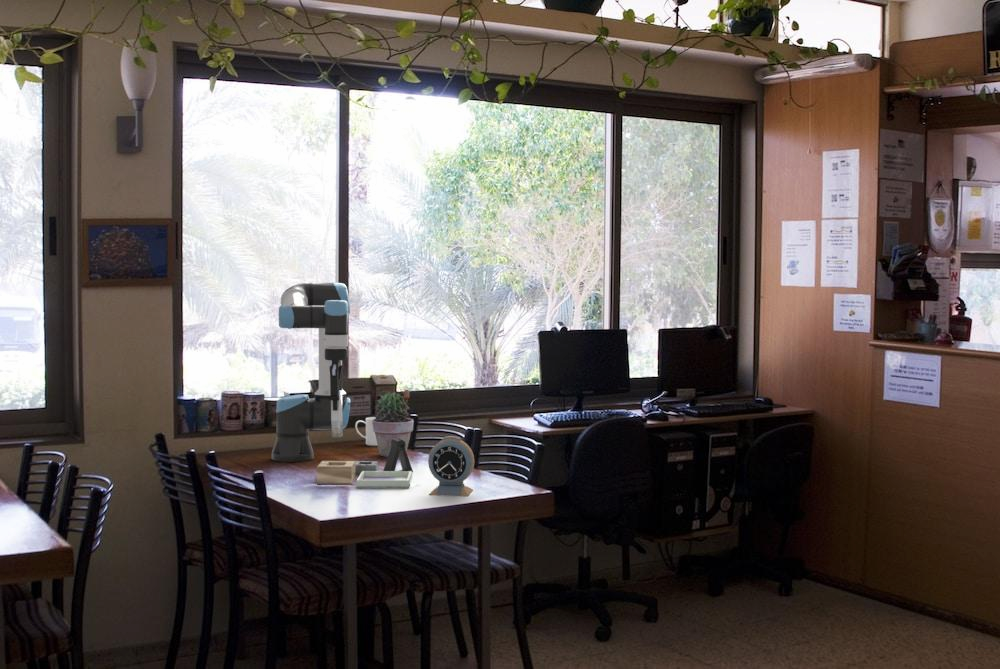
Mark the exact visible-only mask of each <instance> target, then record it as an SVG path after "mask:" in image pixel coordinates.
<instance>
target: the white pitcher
mask: <svg viewBox="0 0 1000 669" xmlns="http://www.w3.org/2000/svg"><path fill="white" fill-rule="evenodd" d="M373 419H376V418H375V417H371V416H368V417H365V420H362V419H361V420H360V419H359V420H357V421H356V422H355V425H354V427H355V430H356V433H357V434H358V435H360V437H362V438H363V439H365V444H366V445H367V446H370V447H371V446H373V447H374V446H375V447H378V444H377V440H376V436H375V432H374V431H373V424H372V420H373ZM359 423H363V424H365V435H363V434H362V433H361V432H360V431H359V429H358V424H359Z"/></svg>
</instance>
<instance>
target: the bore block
mask: <svg viewBox="0 0 1000 669" xmlns="http://www.w3.org/2000/svg"><path fill="white" fill-rule="evenodd" d="M355 461H356V460H322V461H320V463H319V464H318V465H317V466H316V480H317V481H316V485H317V486H353V485H352V484H353V481H354V479H355V478H356V475H355Z"/></svg>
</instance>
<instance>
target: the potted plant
mask: <svg viewBox="0 0 1000 669" xmlns="http://www.w3.org/2000/svg"><path fill="white" fill-rule="evenodd" d="M401 394H402V396H401ZM410 396H411V395H410V391H409V390H408V389H404V391H402V390H401V391H400V392H399V391H397V392H396V391H395V390H393V392H387V393H384V395H383V394H382V395H380V399H377V400H376V402H377V403H378V404H377V405H376V406H374V409H375V408H376V409H375V410H376V414H375V413H374V414H373V415H370V417H375V418H376V419H373V420H372V424H373V431H374V432H375V436H376V440H377V444H378V446H377V448H378V453H379V456H380V457H386V458H388V455H389V452H390V450H391V441H392V439H393V438H395V439H396V438H398V439H401V440H403V441H404V442H405V450H406V453H408V452H407V451H408V448H409V443H410V439H411V435H412V434H411V433H412V432H413V431H414V423H415V422H414V418H410V417H408V416H411V413H409V411H408V410H411V407H409V406H408V405H409V404H411V403H409V402H408V401H410V400H409V399H410ZM398 458H399V455H398Z"/></svg>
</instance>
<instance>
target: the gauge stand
mask: <svg viewBox="0 0 1000 669" xmlns="http://www.w3.org/2000/svg"><path fill="white" fill-rule="evenodd" d="M354 461H355V476H358V475H360V474H361V472H362V471H379V460H368V461H367V460H366V461H365V460H361V461H360V460H354Z"/></svg>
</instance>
